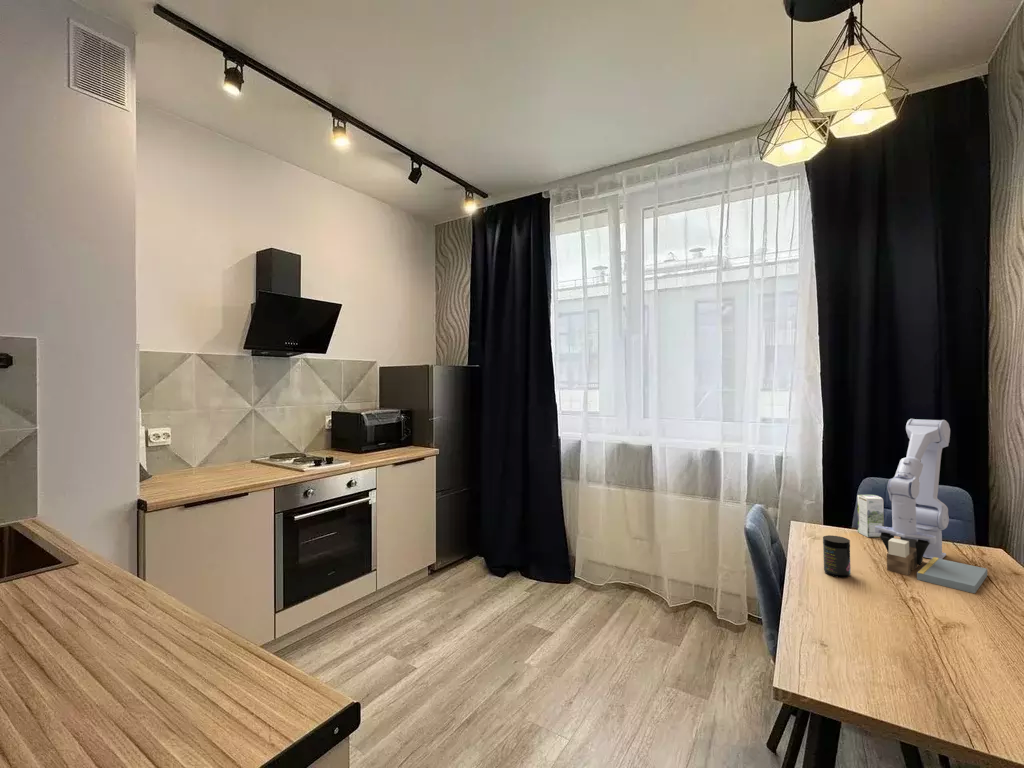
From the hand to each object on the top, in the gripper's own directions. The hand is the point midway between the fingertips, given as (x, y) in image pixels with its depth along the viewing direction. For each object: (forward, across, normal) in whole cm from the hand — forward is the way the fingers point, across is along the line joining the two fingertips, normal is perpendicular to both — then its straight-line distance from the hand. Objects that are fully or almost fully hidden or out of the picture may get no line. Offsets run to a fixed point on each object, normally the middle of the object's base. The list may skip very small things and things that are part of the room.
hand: (905, 561), depth 146 cm
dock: (+1, +11, -1) cm, 11 cm away
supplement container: (+2, -11, -22) cm, 25 cm away
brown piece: (+1, 0, 0) cm, 1 cm away
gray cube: (-4, 0, +6) cm, 7 cm away
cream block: (-4, 0, -6) cm, 7 cm away
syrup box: (+2, -16, +26) cm, 31 cm away
